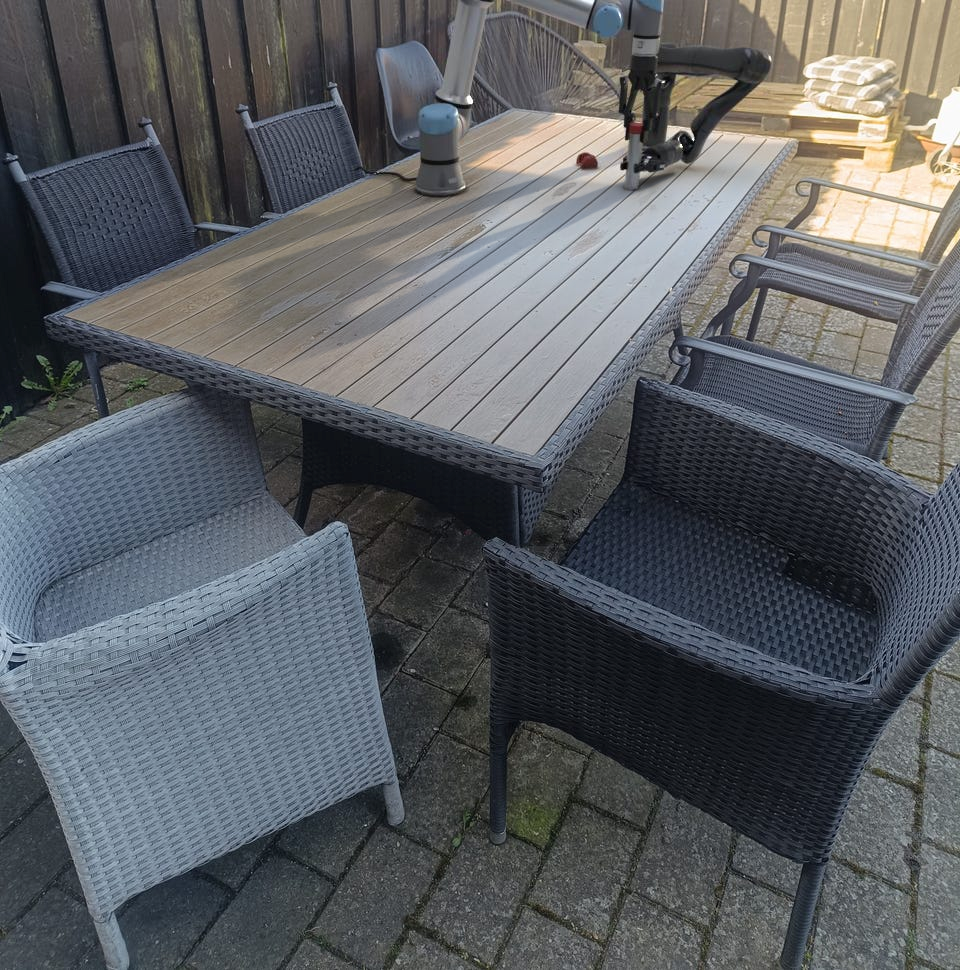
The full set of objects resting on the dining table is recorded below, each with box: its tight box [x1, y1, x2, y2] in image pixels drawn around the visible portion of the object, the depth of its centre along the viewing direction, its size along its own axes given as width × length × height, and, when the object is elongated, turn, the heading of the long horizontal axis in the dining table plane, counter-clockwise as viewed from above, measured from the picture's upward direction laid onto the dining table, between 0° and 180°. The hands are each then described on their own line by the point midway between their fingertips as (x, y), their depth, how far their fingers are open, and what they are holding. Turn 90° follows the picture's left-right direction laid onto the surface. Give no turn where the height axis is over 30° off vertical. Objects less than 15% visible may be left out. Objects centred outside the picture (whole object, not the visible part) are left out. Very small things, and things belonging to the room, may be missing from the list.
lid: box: [629, 122, 643, 134], centre depth 250 cm, size 5×5×2 cm
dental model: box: [575, 151, 599, 169], centre depth 278 cm, size 6×4×8 cm
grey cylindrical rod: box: [623, 133, 643, 191], centre depth 255 cm, size 4×4×18 cm
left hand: (635, 140), depth 252 cm, fingers closed on lid, 5 cm apart
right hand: (628, 168), depth 255 cm, fingers closed on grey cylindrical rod, 4 cm apart
